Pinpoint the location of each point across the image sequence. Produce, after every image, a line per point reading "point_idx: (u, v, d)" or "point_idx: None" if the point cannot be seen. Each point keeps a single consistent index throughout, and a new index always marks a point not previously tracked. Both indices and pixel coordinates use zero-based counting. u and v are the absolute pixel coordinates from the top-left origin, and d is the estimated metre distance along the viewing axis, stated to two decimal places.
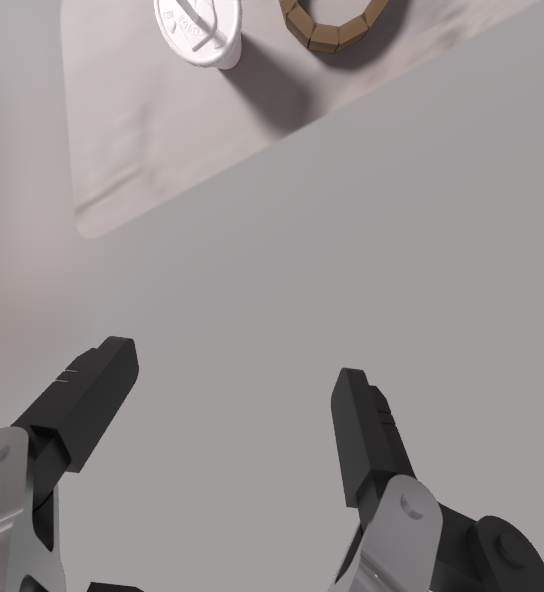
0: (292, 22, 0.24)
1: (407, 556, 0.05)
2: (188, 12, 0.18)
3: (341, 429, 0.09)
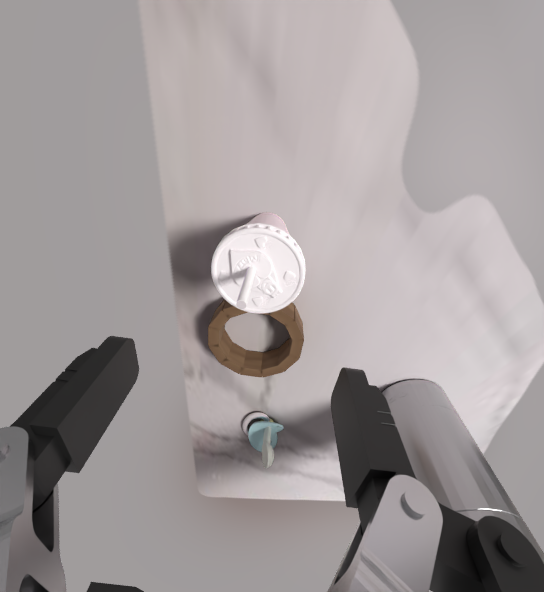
0: None
1: (407, 555, 0.05)
2: (243, 282, 0.16)
3: (341, 429, 0.09)
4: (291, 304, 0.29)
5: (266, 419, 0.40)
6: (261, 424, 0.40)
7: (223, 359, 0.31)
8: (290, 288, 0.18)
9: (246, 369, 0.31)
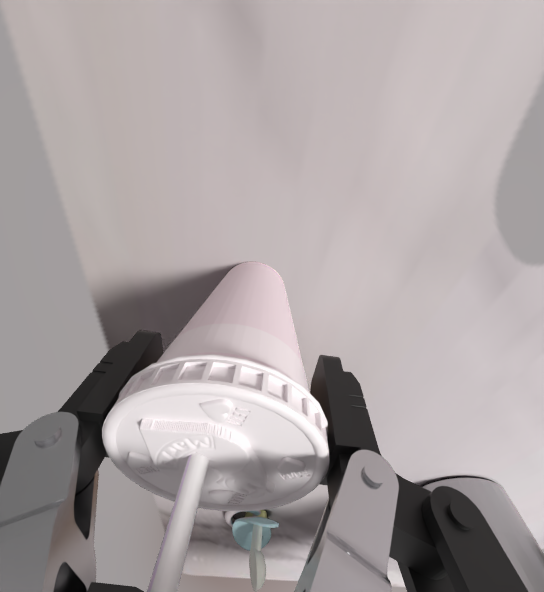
0: None
1: (370, 524, 0.06)
2: (160, 548, 0.05)
3: None
4: None
5: (256, 512, 0.30)
6: None
7: None
8: (294, 482, 0.08)
9: None
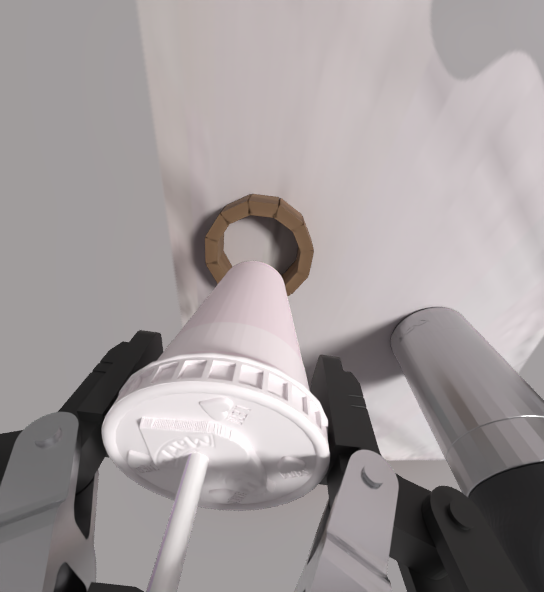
0: (240, 203, 0.23)
1: (369, 524, 0.06)
2: (160, 547, 0.05)
3: None
4: (298, 213, 0.26)
5: None
6: None
7: None
8: (294, 481, 0.08)
9: None
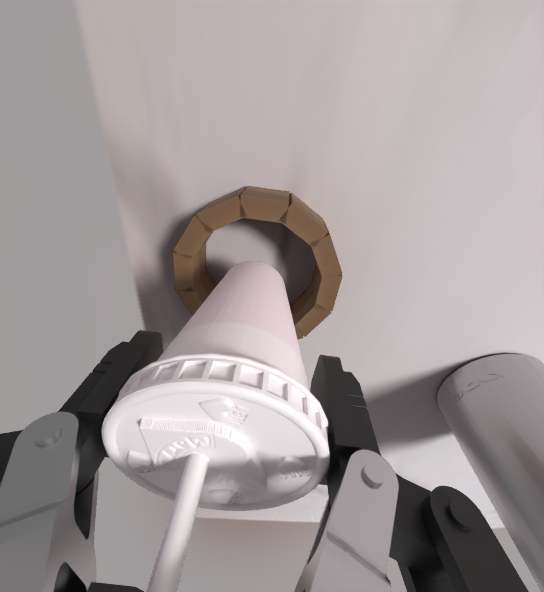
0: (227, 199, 0.14)
1: (369, 523, 0.06)
2: (160, 547, 0.05)
3: None
4: (319, 216, 0.17)
5: None
6: None
7: None
8: (294, 481, 0.08)
9: None
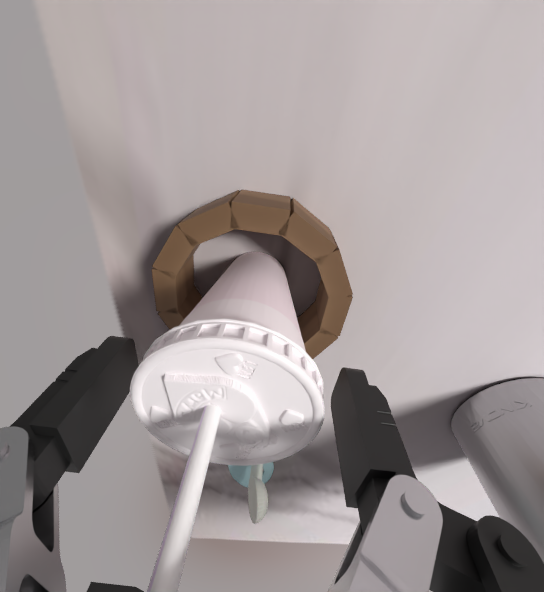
0: (215, 207, 0.12)
1: (407, 556, 0.05)
2: (184, 471, 0.07)
3: (341, 429, 0.09)
4: (325, 226, 0.14)
5: None
6: None
7: None
8: (293, 434, 0.09)
9: None
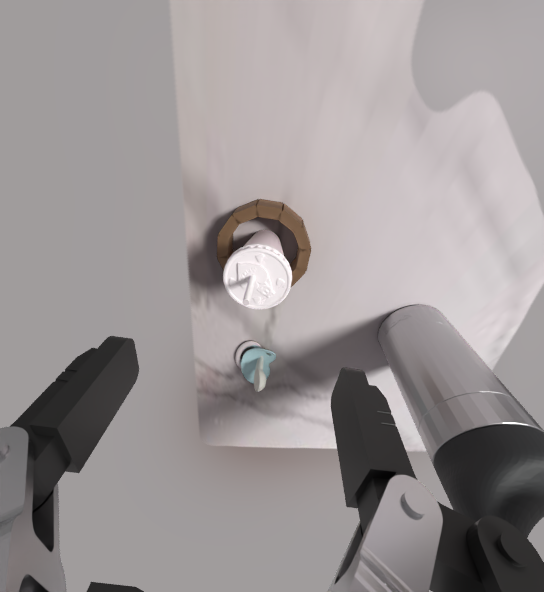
0: (249, 207, 0.27)
1: (407, 555, 0.05)
2: (246, 286, 0.22)
3: (341, 429, 0.09)
4: (299, 217, 0.30)
5: None
6: (254, 353, 0.40)
7: None
8: (281, 291, 0.25)
9: None
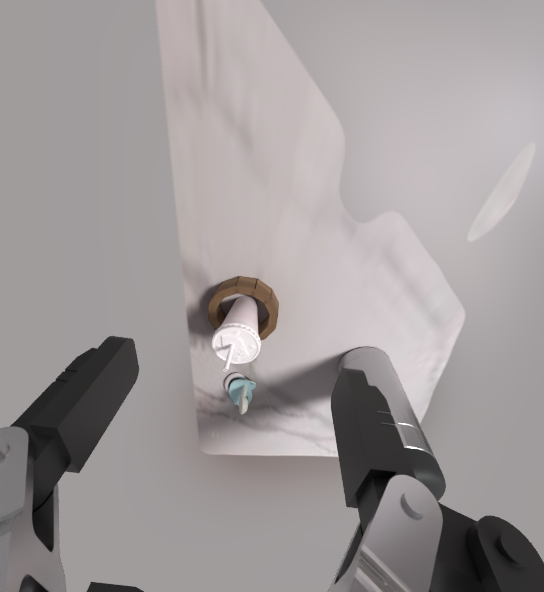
0: (231, 286, 0.38)
1: (408, 556, 0.05)
2: (227, 354, 0.32)
3: (341, 429, 0.09)
4: (269, 288, 0.40)
5: (243, 378, 0.51)
6: (239, 382, 0.50)
7: None
8: (253, 352, 0.35)
9: None
